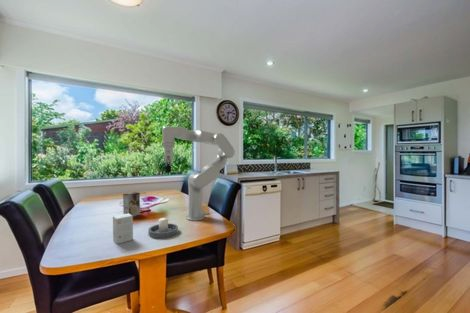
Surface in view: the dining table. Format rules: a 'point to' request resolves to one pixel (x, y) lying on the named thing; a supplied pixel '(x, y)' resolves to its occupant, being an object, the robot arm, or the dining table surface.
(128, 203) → the coffee box
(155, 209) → the dining table surface
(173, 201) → the dining table surface
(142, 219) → the dining table surface
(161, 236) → the round bowl
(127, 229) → the small box
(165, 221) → the white egg
